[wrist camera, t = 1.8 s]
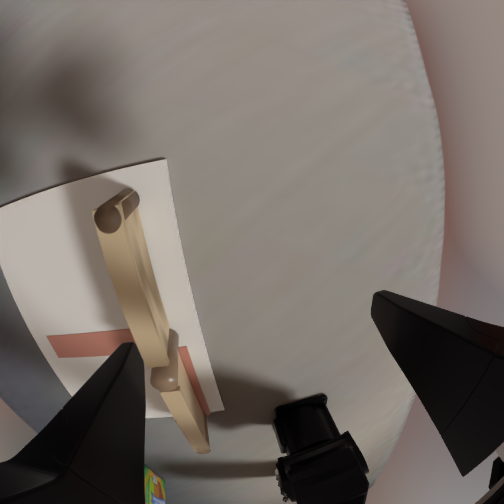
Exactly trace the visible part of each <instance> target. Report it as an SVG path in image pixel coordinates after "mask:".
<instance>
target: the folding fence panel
mask: <svg viewBox="0 0 504 504" xmlns="http://www.w3.org/2000/svg"><path fill="white" fill-rule="evenodd" d="M139 202H140V198H139V195H138V193H137V192H136V191H135V190H133V189H130V188H128V189H124V190H122V191H121V192H119V193H118V194H116V195H115V196H114V197H112V198H111V199H109V200H108V201H106V202H105V203H103V204H102V205H101V206H99V207H98V208H96V209H94V210H93V211H92V214H93V218H94V222H95V226H96V230H97V234H98V238H99V241H100V245H101V248H102V252H103V255H104V258H105V262H106V265H107V268H108V271H109V274H110V277H111V280H112V283H113V286H114V289H115V292H116V295H117V297H118V300H119V303H120V305H121V308H122V311H123V313H124V316H125V318H126V321H127V323H128V326H129V328H130V331H131V333H132V335H133V338H134V340H135V342H136V345H137V347H138V349H139V351H140V353H141V356H142V358H143V360H144V362H145V364H146V366H147V368H153V367H163V366H169V359H168V356H167V350H168V337H169V326H170V325H169V322H168V319H167V316H166V313H165V310H164V306H163V303H162V300H161V296H160V293H159V290H158V286H157V283H156V279H155V276H154V272H153V268H152V264H151V261H150V257H149V253H148V249H147V245H146V240H145V236H144V232H143V227H142V223H141V218H140V214H139V209H138V205H139Z"/></svg>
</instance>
